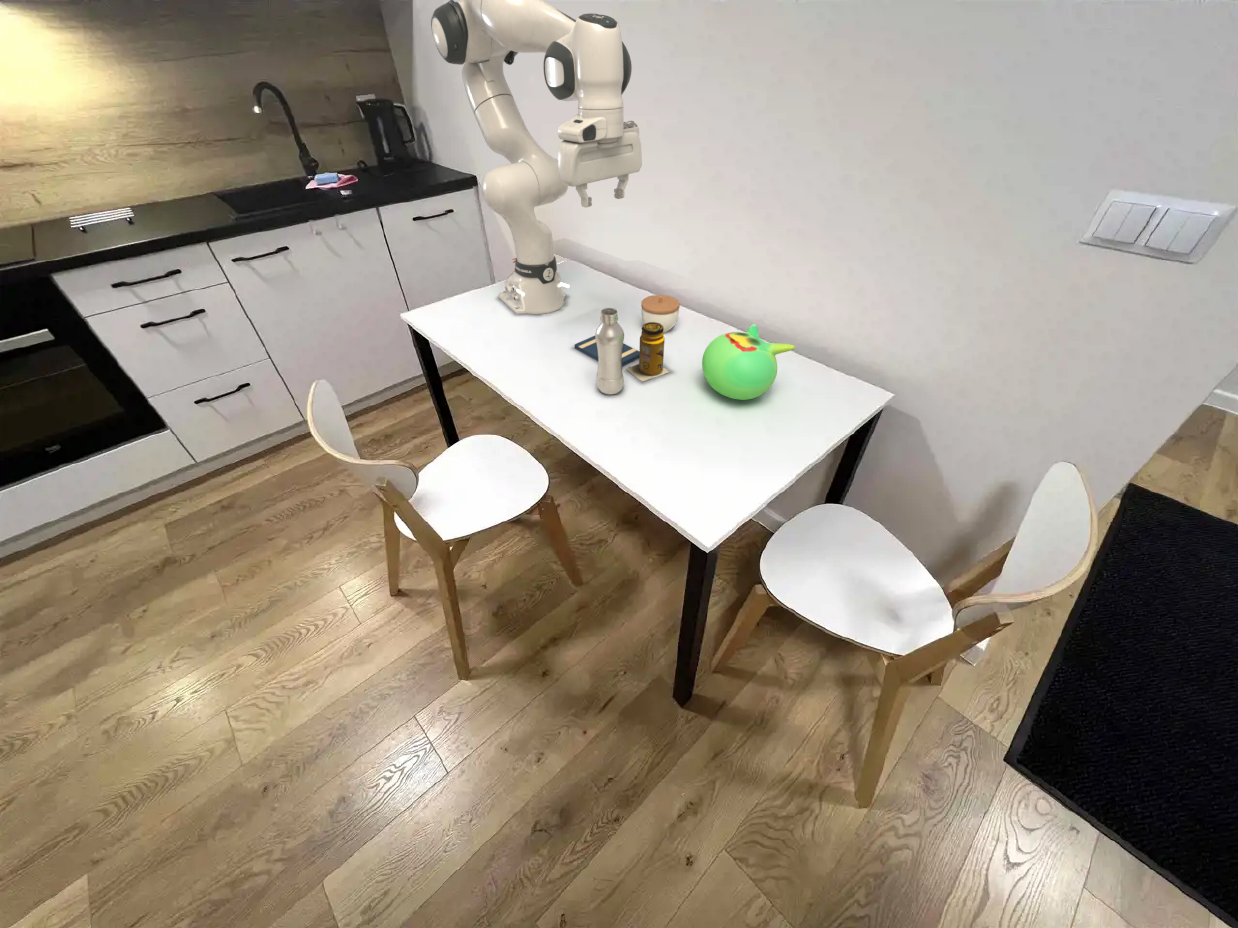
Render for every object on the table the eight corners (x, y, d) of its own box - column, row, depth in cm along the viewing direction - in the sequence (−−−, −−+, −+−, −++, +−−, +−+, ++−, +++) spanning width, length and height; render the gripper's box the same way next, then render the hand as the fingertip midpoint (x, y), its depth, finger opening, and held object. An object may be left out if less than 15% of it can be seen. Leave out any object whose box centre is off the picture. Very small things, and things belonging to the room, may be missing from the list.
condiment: (669, 372, 124) (672, 328, 116) (642, 382, 121) (643, 338, 113) (652, 360, 129) (654, 316, 121) (625, 369, 126) (625, 325, 118)
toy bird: (687, 379, 122) (692, 324, 112) (744, 365, 127) (754, 311, 117) (726, 419, 109) (736, 361, 100) (789, 401, 114) (804, 344, 104)
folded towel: (574, 348, 134) (574, 344, 133) (602, 336, 139) (601, 332, 138) (614, 370, 125) (614, 366, 124) (642, 356, 130) (642, 352, 129)
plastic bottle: (610, 379, 122) (609, 302, 109) (629, 390, 118) (630, 312, 105) (590, 389, 119) (587, 311, 105) (610, 401, 115) (608, 321, 102)
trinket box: (675, 319, 146) (677, 288, 140) (680, 336, 138) (682, 304, 132) (639, 320, 146) (640, 289, 140) (641, 337, 138) (642, 305, 132)
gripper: (628, 118, 104) (627, 191, 113) (550, 129, 94) (557, 208, 103) (649, 121, 101) (647, 196, 110) (571, 133, 90) (576, 214, 100)
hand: (603, 202), depth 106 cm, fingers open, 8 cm apart
